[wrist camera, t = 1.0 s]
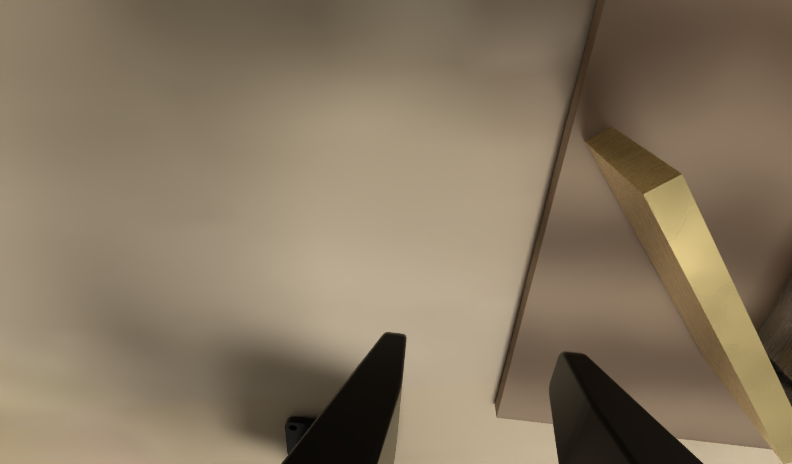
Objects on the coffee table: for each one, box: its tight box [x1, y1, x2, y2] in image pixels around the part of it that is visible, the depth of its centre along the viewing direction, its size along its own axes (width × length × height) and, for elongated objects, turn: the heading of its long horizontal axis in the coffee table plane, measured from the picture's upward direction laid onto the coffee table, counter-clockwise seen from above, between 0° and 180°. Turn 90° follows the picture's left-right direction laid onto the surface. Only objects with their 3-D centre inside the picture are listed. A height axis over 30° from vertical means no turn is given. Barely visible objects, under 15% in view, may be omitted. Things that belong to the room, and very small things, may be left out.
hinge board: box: [495, 0, 792, 449], centre depth 18 cm, size 22×18×1 cm
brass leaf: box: [585, 126, 792, 464], centre depth 15 cm, size 13×1×5 cm, turn 37°
